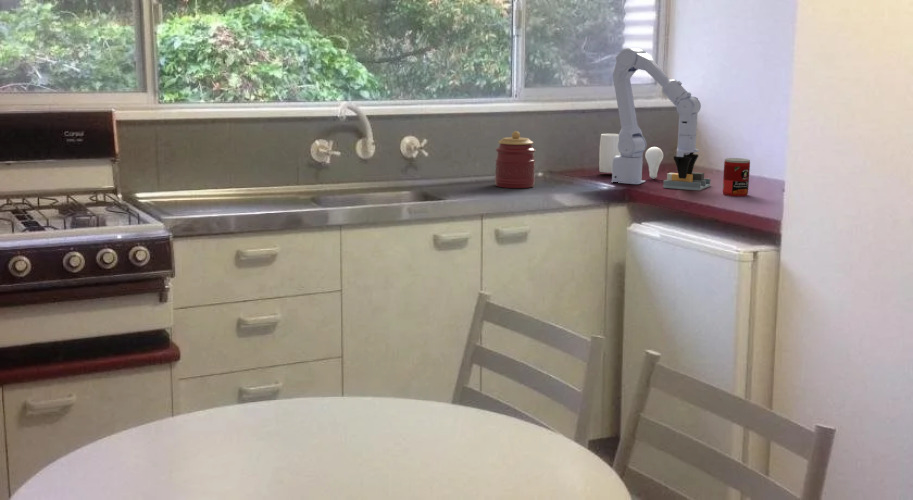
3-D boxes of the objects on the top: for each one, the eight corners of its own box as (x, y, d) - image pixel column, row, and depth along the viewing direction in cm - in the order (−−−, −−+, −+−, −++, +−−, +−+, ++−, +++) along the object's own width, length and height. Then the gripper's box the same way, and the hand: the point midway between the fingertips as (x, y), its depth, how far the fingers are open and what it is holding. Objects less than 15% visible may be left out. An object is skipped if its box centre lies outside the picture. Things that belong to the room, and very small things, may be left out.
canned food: (734, 197, 331) (736, 161, 329) (716, 193, 338) (719, 158, 336) (753, 195, 335) (755, 160, 333) (735, 192, 342) (738, 157, 340)
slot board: (663, 187, 350) (663, 180, 350) (674, 183, 361) (674, 176, 361) (699, 190, 345) (700, 183, 344) (710, 186, 356) (710, 178, 355)
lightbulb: (664, 178, 374) (666, 146, 372) (658, 180, 369) (659, 148, 367) (648, 177, 377) (649, 145, 375) (641, 178, 372) (642, 146, 370)
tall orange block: (692, 185, 351) (693, 174, 350) (689, 186, 348) (690, 175, 347) (669, 183, 354) (670, 172, 354) (666, 184, 351) (667, 173, 351)
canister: (513, 182, 358) (514, 128, 355) (543, 186, 349) (544, 131, 346) (486, 185, 349) (487, 130, 346) (515, 190, 340) (517, 133, 337)
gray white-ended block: (703, 183, 355) (704, 172, 354) (700, 185, 352) (701, 173, 351) (681, 182, 358) (681, 171, 358) (678, 183, 355) (678, 172, 355)
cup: (624, 176, 378) (625, 135, 375) (599, 176, 378) (601, 135, 375) (620, 173, 386) (622, 133, 383) (597, 173, 386) (598, 133, 383)
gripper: (693, 137, 339) (690, 180, 342) (705, 134, 352) (703, 175, 354) (671, 136, 342) (669, 179, 345) (684, 133, 355) (682, 174, 358)
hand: (684, 177), depth 350 cm, fingers open, 5 cm apart
